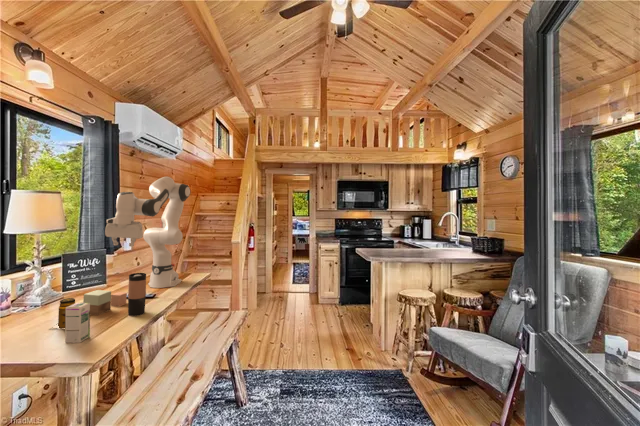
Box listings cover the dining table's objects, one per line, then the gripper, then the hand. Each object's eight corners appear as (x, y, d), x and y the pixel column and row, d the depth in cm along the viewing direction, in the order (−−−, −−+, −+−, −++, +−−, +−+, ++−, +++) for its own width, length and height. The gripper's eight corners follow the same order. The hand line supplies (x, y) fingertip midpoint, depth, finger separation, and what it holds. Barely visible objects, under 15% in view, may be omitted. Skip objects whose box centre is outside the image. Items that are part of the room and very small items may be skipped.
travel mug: (142, 310, 159) (144, 272, 159) (147, 314, 154) (148, 275, 153) (125, 313, 154) (127, 274, 153) (129, 317, 148) (130, 277, 148)
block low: (96, 308, 158) (96, 299, 158) (110, 310, 157) (110, 300, 157) (82, 314, 150) (83, 304, 150) (97, 315, 149) (97, 305, 149)
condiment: (71, 328, 133) (71, 301, 133) (48, 329, 131) (49, 302, 131) (80, 322, 140) (81, 296, 140) (58, 323, 138) (59, 297, 138)
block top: (96, 299, 158) (96, 289, 158) (110, 300, 157) (111, 291, 157) (83, 304, 150) (83, 294, 150) (98, 305, 149) (98, 295, 149)
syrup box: (80, 343, 121) (81, 307, 120) (64, 343, 120) (65, 306, 120) (89, 336, 126) (90, 302, 126) (74, 336, 126) (75, 302, 125)
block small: (118, 302, 168) (118, 292, 168) (126, 303, 168) (126, 292, 167) (110, 305, 163) (111, 294, 163) (119, 306, 163) (119, 295, 162)
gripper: (146, 221, 170) (144, 246, 170) (112, 219, 172) (111, 244, 172) (138, 222, 164) (136, 247, 163) (103, 220, 166) (102, 245, 166)
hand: (123, 245), depth 168 cm, fingers open, 8 cm apart
